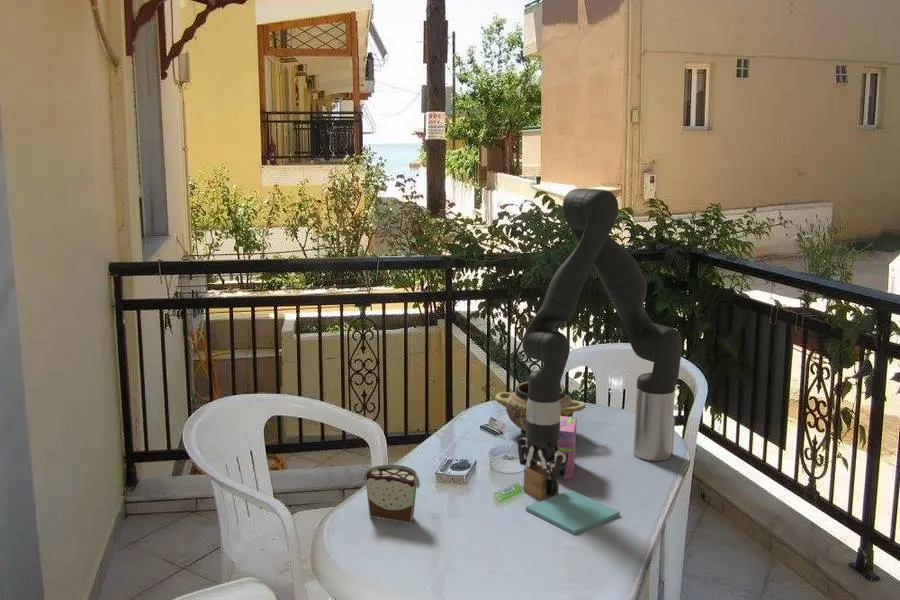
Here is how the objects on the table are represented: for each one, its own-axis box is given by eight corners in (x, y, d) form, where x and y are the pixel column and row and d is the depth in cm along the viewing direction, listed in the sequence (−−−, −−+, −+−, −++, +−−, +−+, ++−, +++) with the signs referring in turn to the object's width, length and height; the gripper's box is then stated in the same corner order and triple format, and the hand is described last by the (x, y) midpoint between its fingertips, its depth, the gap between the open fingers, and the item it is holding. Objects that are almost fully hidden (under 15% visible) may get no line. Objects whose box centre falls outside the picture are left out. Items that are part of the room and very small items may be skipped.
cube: (541, 485, 195) (541, 462, 194) (558, 493, 191) (559, 470, 190) (523, 491, 192) (524, 468, 190) (540, 499, 187) (541, 476, 186)
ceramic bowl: (486, 443, 228) (481, 395, 222) (511, 408, 242) (508, 362, 236) (574, 460, 217) (571, 410, 211) (595, 423, 231) (593, 375, 225)
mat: (571, 493, 191) (571, 489, 191) (619, 515, 180) (619, 511, 180) (525, 510, 182) (525, 506, 182) (573, 534, 171) (574, 530, 171)
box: (572, 479, 198) (574, 431, 196) (548, 477, 199) (549, 429, 197) (575, 462, 208) (577, 416, 206) (551, 460, 209) (553, 415, 207)
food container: (428, 512, 181) (428, 468, 179) (417, 525, 175) (417, 479, 173) (375, 503, 185) (374, 460, 183) (363, 515, 179) (362, 471, 177)
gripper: (579, 423, 184) (576, 496, 188) (532, 406, 195) (530, 475, 199) (554, 430, 180) (552, 505, 183) (508, 412, 191) (506, 483, 194)
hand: (540, 489), depth 191 cm, fingers closed on cube, 5 cm apart
